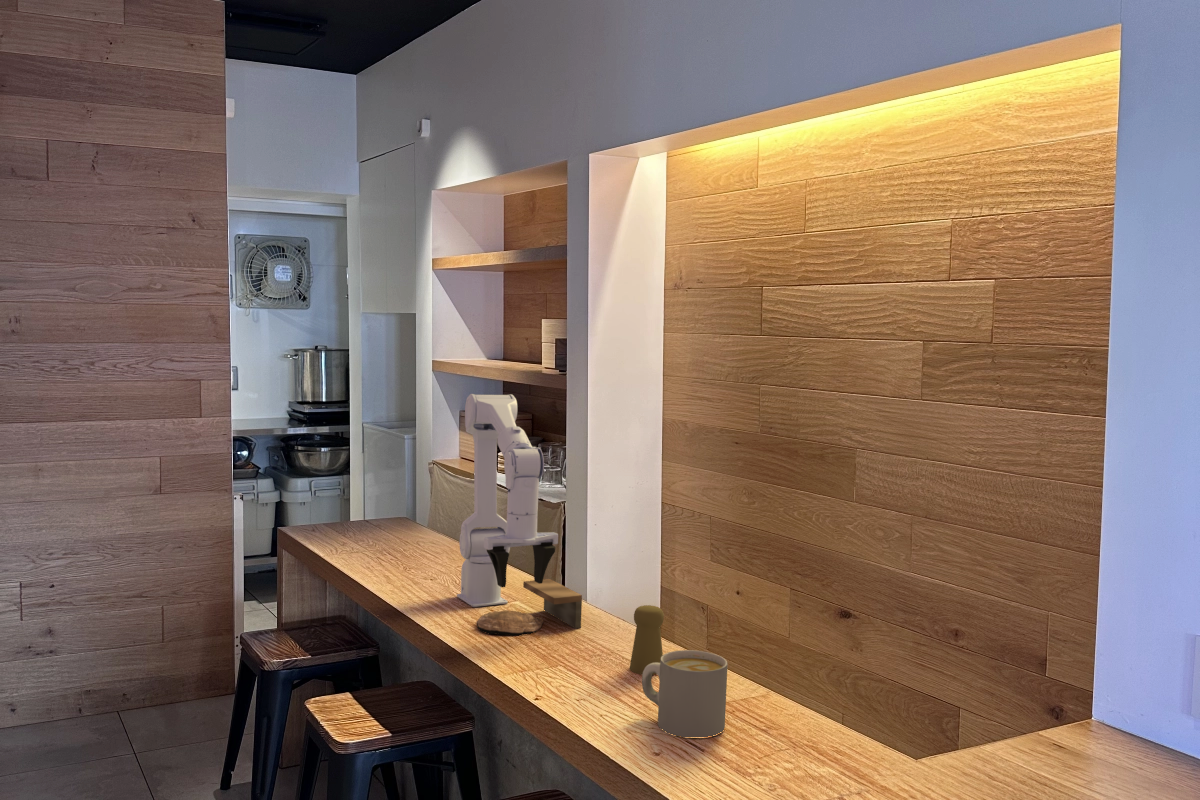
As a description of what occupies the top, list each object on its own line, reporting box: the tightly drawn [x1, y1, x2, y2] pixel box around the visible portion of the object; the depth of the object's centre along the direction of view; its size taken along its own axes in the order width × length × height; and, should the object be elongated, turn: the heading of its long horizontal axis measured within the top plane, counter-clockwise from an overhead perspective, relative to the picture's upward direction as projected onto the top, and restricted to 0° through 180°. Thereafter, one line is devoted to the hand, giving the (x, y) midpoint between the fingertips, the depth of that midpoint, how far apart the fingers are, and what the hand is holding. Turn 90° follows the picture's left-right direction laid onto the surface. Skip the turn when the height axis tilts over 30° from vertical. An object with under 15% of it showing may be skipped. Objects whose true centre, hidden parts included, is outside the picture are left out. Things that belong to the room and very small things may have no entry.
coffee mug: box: [641, 649, 728, 737], centre depth 156 cm, size 13×10×10 cm
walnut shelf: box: [522, 578, 583, 629], centre depth 208 cm, size 14×6×6 cm, turn 29°
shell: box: [476, 609, 544, 637], centre depth 202 cm, size 12×13×4 cm
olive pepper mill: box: [628, 604, 665, 676], centre depth 180 cm, size 6×6×11 cm
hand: (520, 584), depth 196 cm, fingers open, 7 cm apart
